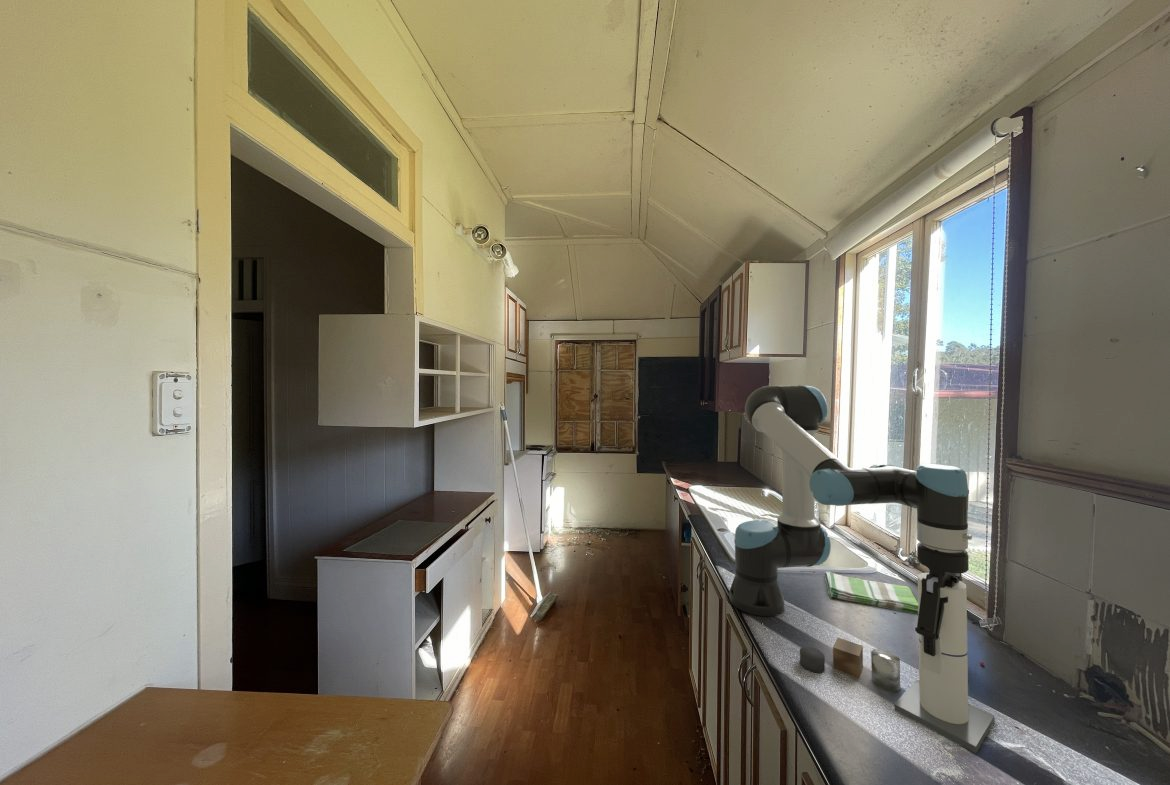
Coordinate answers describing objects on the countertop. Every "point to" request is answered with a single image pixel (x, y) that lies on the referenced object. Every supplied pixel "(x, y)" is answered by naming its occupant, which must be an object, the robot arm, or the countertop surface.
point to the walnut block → (848, 657)
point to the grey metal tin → (885, 670)
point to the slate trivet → (961, 734)
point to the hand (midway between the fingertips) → (942, 657)
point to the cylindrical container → (948, 660)
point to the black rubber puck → (812, 660)
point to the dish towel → (871, 593)
